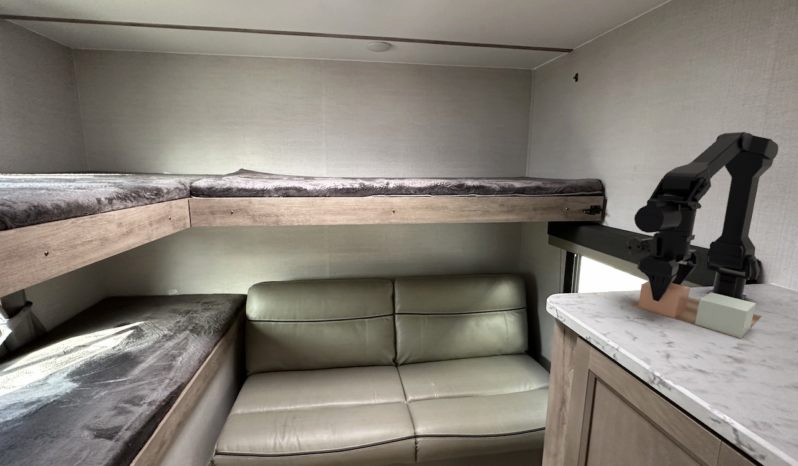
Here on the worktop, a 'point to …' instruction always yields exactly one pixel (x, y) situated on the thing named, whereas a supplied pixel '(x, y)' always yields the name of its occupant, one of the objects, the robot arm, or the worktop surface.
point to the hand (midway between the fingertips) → (664, 296)
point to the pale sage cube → (725, 314)
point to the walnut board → (691, 314)
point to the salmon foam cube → (665, 300)
